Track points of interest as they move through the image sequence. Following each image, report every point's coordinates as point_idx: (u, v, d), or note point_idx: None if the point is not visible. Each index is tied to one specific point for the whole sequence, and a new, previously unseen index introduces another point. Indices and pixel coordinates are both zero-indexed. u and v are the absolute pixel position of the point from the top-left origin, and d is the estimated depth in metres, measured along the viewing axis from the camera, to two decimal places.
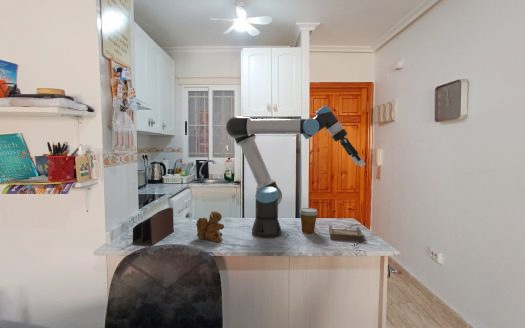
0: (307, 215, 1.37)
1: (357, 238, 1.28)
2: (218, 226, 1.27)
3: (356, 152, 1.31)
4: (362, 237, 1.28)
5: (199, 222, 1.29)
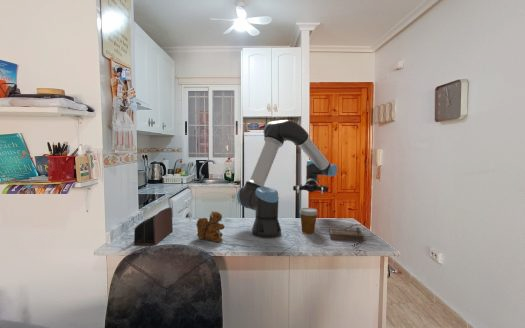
0: (307, 215, 1.37)
1: (357, 238, 1.28)
2: (218, 226, 1.27)
3: None
4: (362, 237, 1.28)
5: (199, 222, 1.29)
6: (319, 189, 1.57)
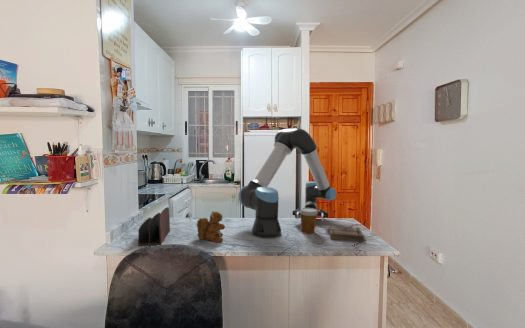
0: (307, 215, 1.37)
1: (357, 238, 1.28)
2: (219, 226, 1.27)
3: None
4: (362, 237, 1.28)
5: (200, 222, 1.29)
6: (319, 214, 1.54)
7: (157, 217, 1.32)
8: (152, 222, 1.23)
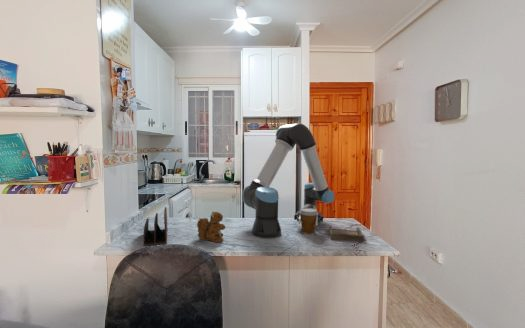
0: (307, 215, 1.37)
1: (357, 238, 1.28)
2: (219, 226, 1.27)
3: None
4: (362, 237, 1.28)
5: (200, 222, 1.29)
6: None
7: None
8: None
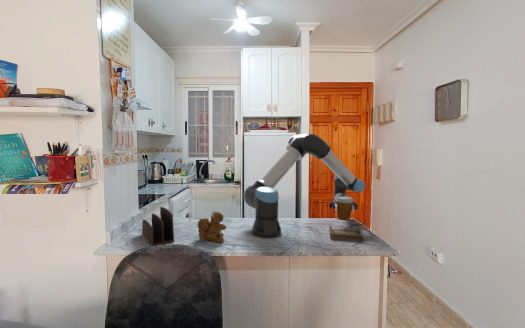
0: (344, 203, 1.44)
1: (357, 238, 1.28)
2: (220, 227, 1.27)
3: (357, 207, 1.50)
4: (362, 237, 1.28)
5: (201, 223, 1.28)
6: None
7: None
8: None
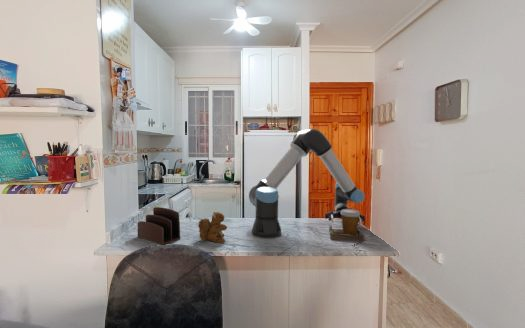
0: (351, 217, 1.32)
1: (357, 238, 1.28)
2: (221, 227, 1.26)
3: (364, 219, 1.39)
4: (362, 237, 1.28)
5: (201, 223, 1.28)
6: None
7: None
8: None
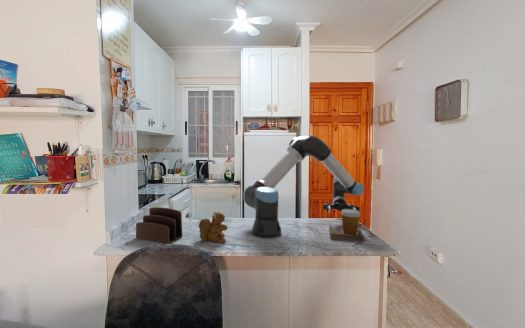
0: (351, 217, 1.32)
1: (357, 238, 1.28)
2: (221, 227, 1.26)
3: (359, 210, 1.52)
4: (362, 237, 1.28)
5: (202, 223, 1.27)
6: None
7: None
8: None
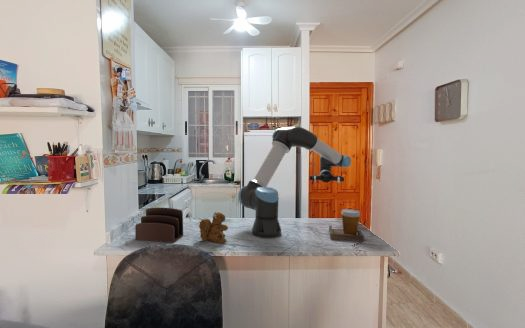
0: (351, 217, 1.32)
1: (357, 238, 1.28)
2: (222, 227, 1.26)
3: (343, 180, 1.59)
4: (362, 237, 1.28)
5: (202, 223, 1.27)
6: (335, 179, 1.62)
7: None
8: None
